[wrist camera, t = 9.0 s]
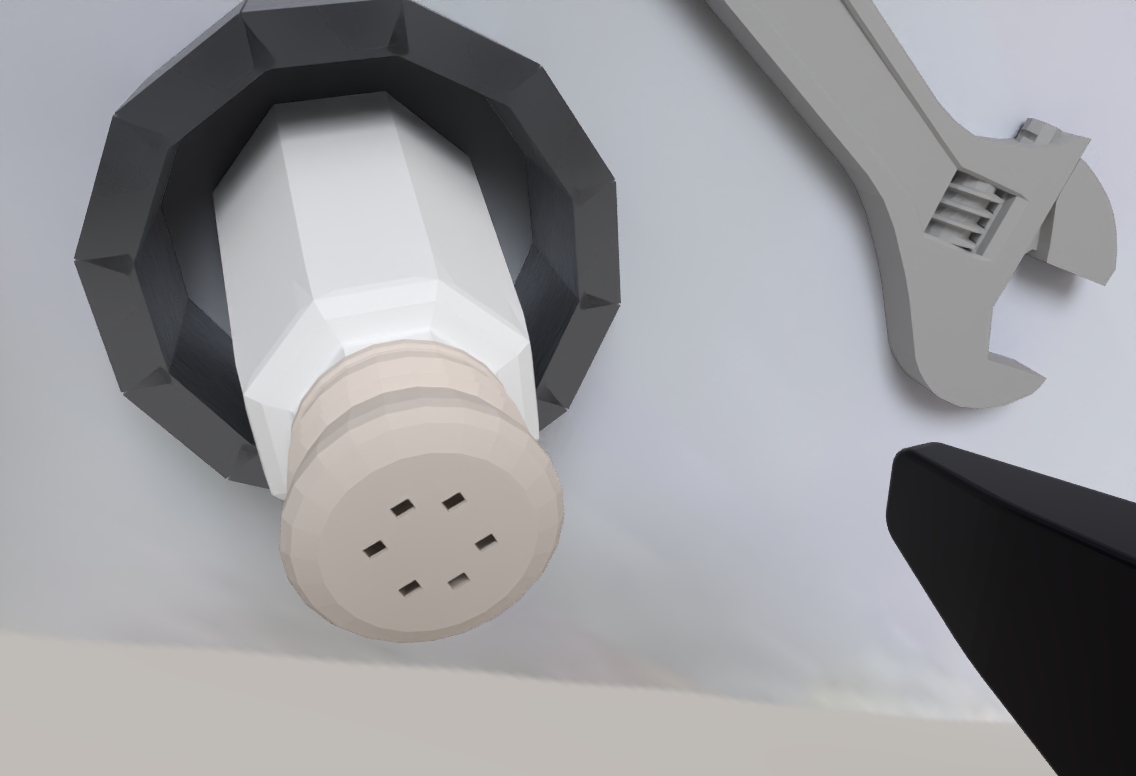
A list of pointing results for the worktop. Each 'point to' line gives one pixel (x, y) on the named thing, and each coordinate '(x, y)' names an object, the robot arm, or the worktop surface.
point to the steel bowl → (305, 37)
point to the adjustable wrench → (932, 189)
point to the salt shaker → (384, 370)
